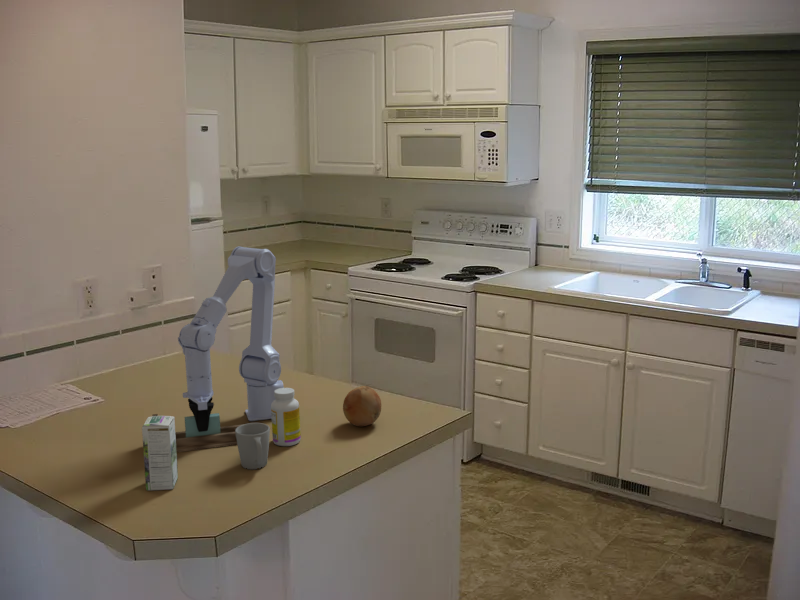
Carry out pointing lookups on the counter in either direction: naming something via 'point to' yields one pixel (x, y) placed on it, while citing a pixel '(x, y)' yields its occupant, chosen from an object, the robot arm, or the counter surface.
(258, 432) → the cup
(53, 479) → the counter surface
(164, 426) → the syrup box
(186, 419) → the teal rectangular block
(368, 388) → the grapefruit
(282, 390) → the supplement bottle
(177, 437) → the track
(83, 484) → the counter surface
